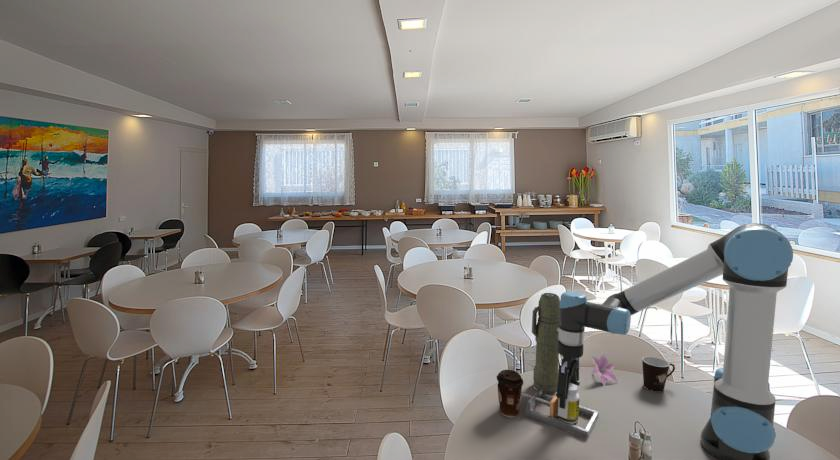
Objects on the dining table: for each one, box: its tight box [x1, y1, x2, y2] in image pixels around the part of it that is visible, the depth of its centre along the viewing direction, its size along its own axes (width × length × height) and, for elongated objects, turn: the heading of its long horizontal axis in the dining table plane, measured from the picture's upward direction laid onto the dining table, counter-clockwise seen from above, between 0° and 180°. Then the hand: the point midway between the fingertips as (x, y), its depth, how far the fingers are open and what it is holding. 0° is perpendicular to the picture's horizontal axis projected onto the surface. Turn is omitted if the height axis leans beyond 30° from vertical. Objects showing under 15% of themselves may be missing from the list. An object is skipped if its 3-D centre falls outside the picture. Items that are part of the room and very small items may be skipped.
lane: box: [525, 388, 599, 439], centre depth 125 cm, size 19×13×4 cm
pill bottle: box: [557, 383, 581, 425], centre depth 123 cm, size 6×6×11 cm
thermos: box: [531, 292, 561, 394], centre depth 141 cm, size 9×12×35 cm
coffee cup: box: [496, 369, 524, 419], centre depth 127 cm, size 9×8×13 cm
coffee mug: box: [641, 355, 676, 392], centre depth 143 cm, size 12×9×10 cm
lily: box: [590, 350, 619, 387], centre depth 149 cm, size 12×12×10 cm
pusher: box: [521, 391, 558, 418], centre depth 129 cm, size 13×10×6 cm
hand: (566, 409), depth 124 cm, fingers open, 8 cm apart
